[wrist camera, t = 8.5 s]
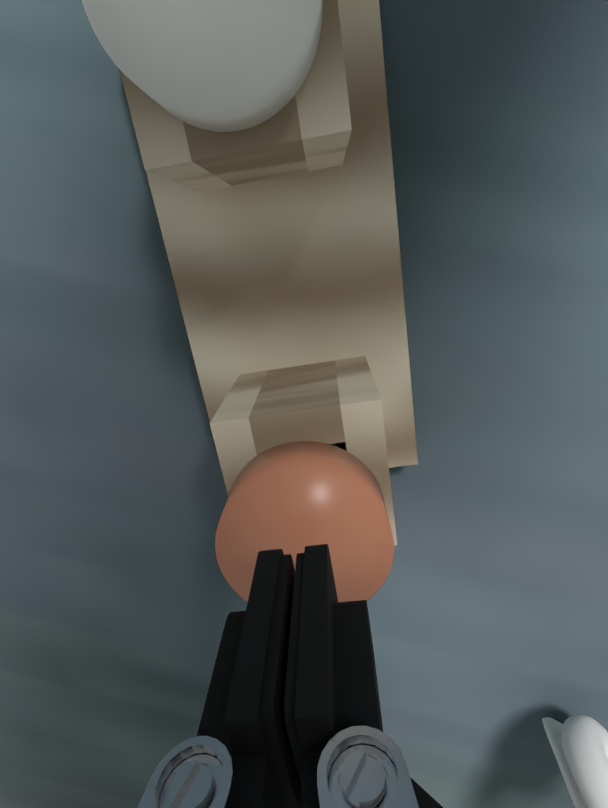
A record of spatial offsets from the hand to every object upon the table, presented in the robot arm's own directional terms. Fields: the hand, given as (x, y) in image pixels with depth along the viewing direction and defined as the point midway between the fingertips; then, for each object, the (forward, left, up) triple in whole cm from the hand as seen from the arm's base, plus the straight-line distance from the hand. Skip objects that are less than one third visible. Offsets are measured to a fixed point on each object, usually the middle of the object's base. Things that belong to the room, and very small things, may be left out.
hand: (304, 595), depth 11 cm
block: (-7, 0, -13) cm, 15 cm away
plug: (-14, 0, -11) cm, 18 cm away
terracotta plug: (0, 0, -10) cm, 10 cm away
